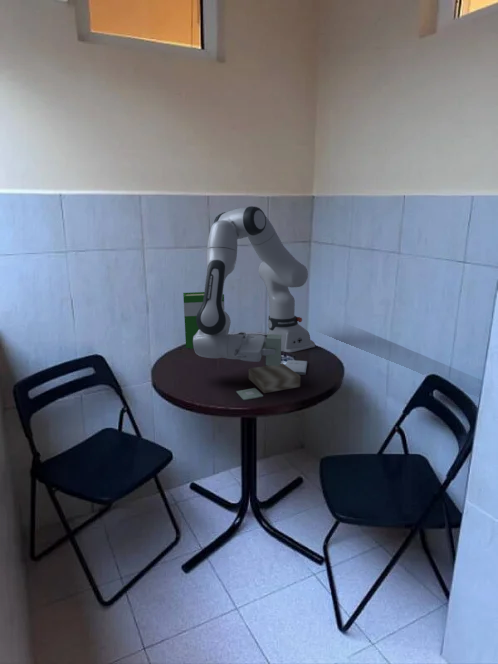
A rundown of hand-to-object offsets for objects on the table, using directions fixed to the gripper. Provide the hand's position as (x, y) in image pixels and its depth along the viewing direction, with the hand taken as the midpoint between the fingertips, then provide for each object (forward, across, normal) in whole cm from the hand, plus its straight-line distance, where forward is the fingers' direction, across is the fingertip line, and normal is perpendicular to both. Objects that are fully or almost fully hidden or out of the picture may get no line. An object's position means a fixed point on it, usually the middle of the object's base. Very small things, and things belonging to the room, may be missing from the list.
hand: (276, 348), depth 158 cm
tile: (-8, -11, +13) cm, 19 cm away
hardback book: (-35, +40, +13) cm, 55 cm away
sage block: (-1, 0, +6) cm, 6 cm away
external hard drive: (+7, +16, +14) cm, 22 cm away
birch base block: (-1, 0, +13) cm, 13 cm away
